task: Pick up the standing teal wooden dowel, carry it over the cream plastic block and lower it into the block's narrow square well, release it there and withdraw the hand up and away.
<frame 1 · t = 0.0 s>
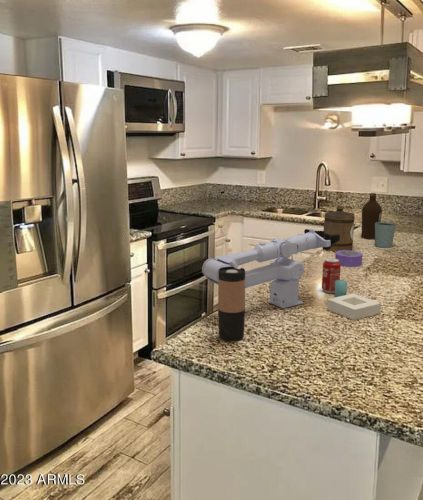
hand: (331, 235, 179), 22 cm above the worktop, tool horizontal, fingers open, 7 cm apart
wooden container: (337, 249, 255), on the worktop
tape roll: (348, 264, 227), on the worktop
teal dowel: (340, 300, 176), on the worktop
travel mug: (231, 337, 145), on the worktop
well block: (353, 311, 166), on the worktop
drinking glass: (383, 246, 261), on the worktop
beverage can: (330, 291, 187), on the worktop
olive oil: (370, 238, 283), on the worktop
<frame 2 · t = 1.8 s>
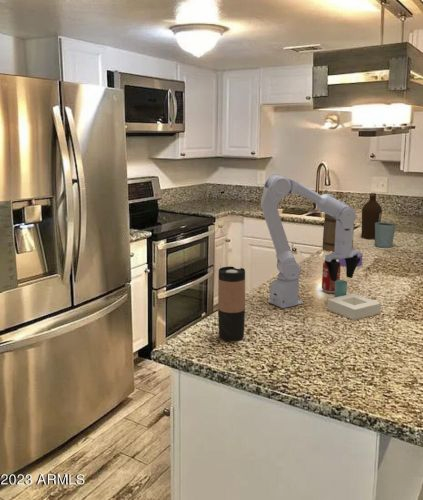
hand: (341, 278, 174), 8 cm above the worktop, tool pointing down, fingers open, 7 cm apart
nothing on the worktop moved.
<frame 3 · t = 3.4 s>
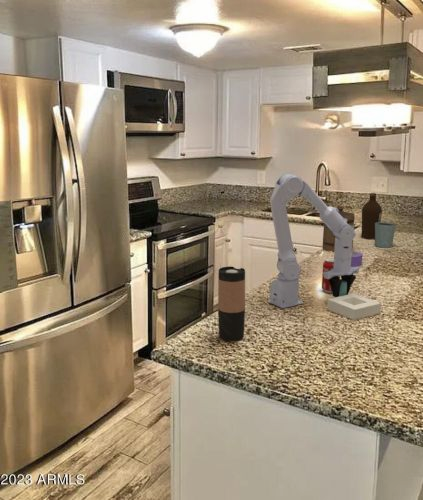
hand: (340, 295, 176), 2 cm above the worktop, tool pointing down, fingers closed on teal dowel, 4 cm apart
teal dowel: (340, 300, 176), on the worktop, touching gripper
everything else where it was.
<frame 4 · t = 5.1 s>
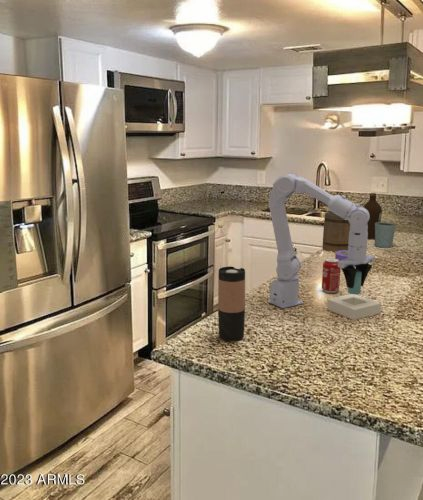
hand: (355, 286, 164), 9 cm above the worktop, tool pointing down, fingers closed on teal dowel, 4 cm apart
teal dowel: (354, 292, 164), point 6 cm above the worktop, touching gripper
everything else where it was.
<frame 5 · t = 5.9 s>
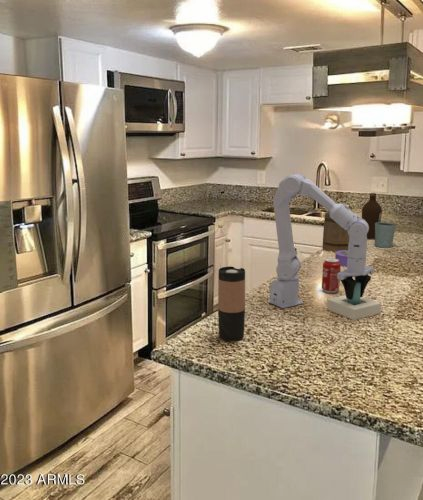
hand: (354, 297, 165), 5 cm above the worktop, tool pointing down, fingers closed on teal dowel, 4 cm apart
teal dowel: (353, 303, 165), point 3 cm above the worktop, touching gripper
everything else where it was.
when the fingers open (5 cm above the worktop, at t = 6.7 s): teal dowel drops 2 cm, resting on well block.
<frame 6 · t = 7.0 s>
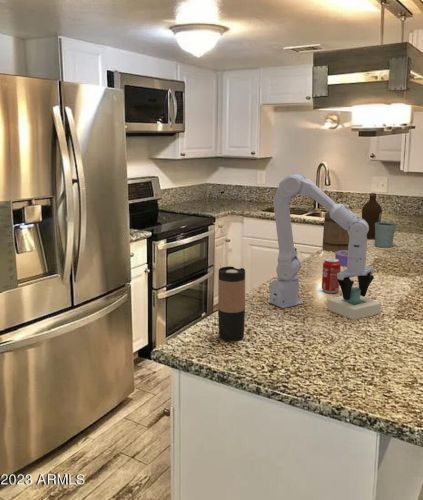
hand: (354, 297, 165), 5 cm above the worktop, tool pointing down, fingers open, 7 cm apart
teal dowel: (353, 309, 166), resting on well block
everything else where it was.
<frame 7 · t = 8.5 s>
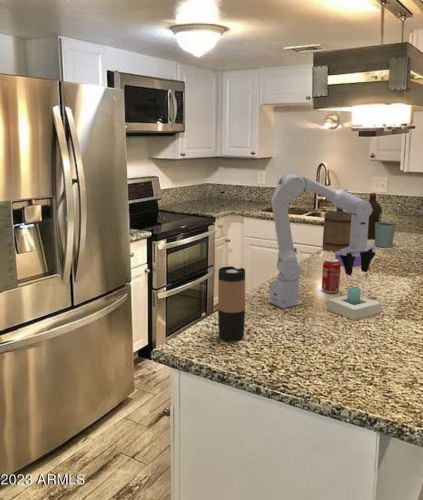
hand: (356, 273, 174), 10 cm above the worktop, tool pointing down, fingers open, 7 cm apart
nothing on the worktop moved.
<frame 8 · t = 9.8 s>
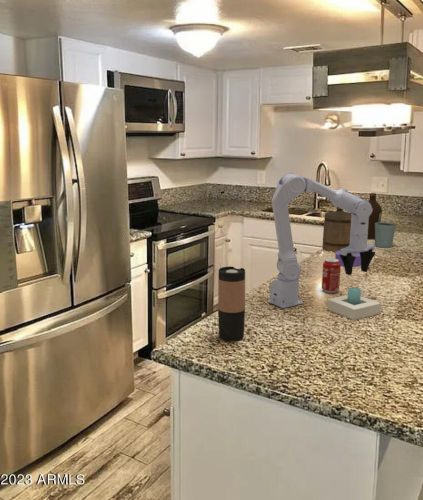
hand: (356, 272, 175), 10 cm above the worktop, tool pointing down, fingers open, 7 cm apart
nothing on the worktop moved.
at the end: teal dowel 0.2 cm off-centre on the well block, point 0.5 cm above the well block's base; teal dowel tilted 1°; the gripper is holding nothing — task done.
